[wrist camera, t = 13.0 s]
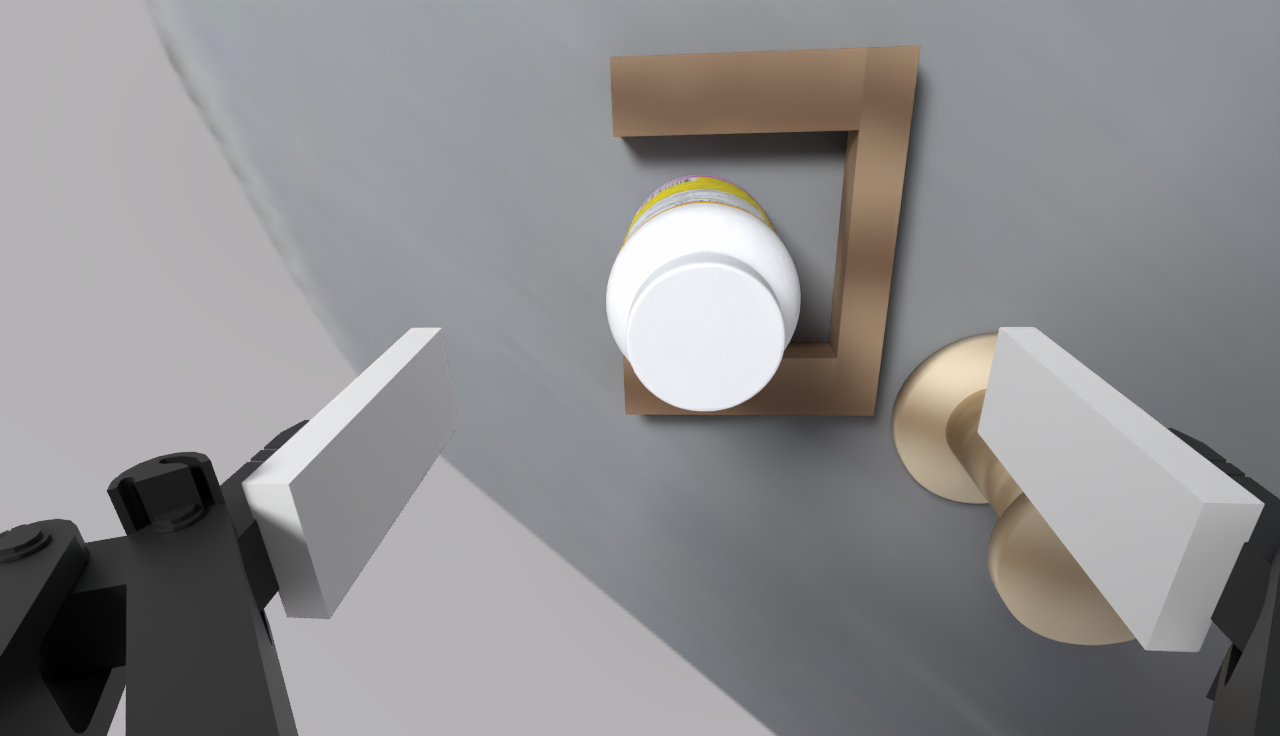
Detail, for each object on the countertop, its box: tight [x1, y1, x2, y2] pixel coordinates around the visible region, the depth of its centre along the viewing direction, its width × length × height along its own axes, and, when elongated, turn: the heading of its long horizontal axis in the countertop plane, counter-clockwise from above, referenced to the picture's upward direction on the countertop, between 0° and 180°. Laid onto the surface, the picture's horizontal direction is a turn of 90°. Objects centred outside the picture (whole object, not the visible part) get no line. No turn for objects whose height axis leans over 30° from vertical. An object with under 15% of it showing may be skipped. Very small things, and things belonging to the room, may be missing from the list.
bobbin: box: [891, 333, 1136, 645], centre depth 28 cm, size 9×9×11 cm
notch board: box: [610, 46, 921, 416], centre depth 30 cm, size 16×12×2 cm
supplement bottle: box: [606, 175, 801, 411], centre depth 25 cm, size 7×7×13 cm
